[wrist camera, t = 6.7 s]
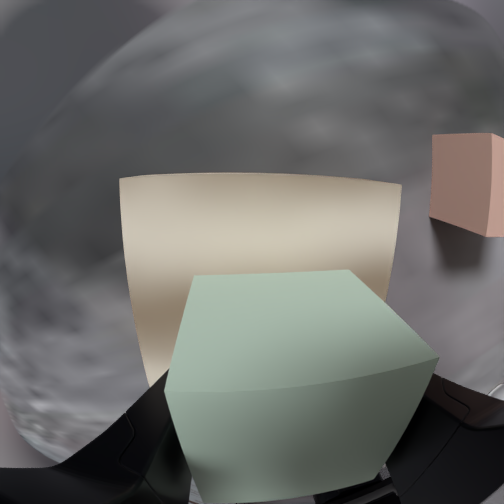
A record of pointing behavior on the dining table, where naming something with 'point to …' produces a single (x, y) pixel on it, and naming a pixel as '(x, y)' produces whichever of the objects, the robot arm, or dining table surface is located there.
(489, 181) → the clay cube
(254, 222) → the birch block
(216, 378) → the sage cube
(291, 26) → the dining table surface
